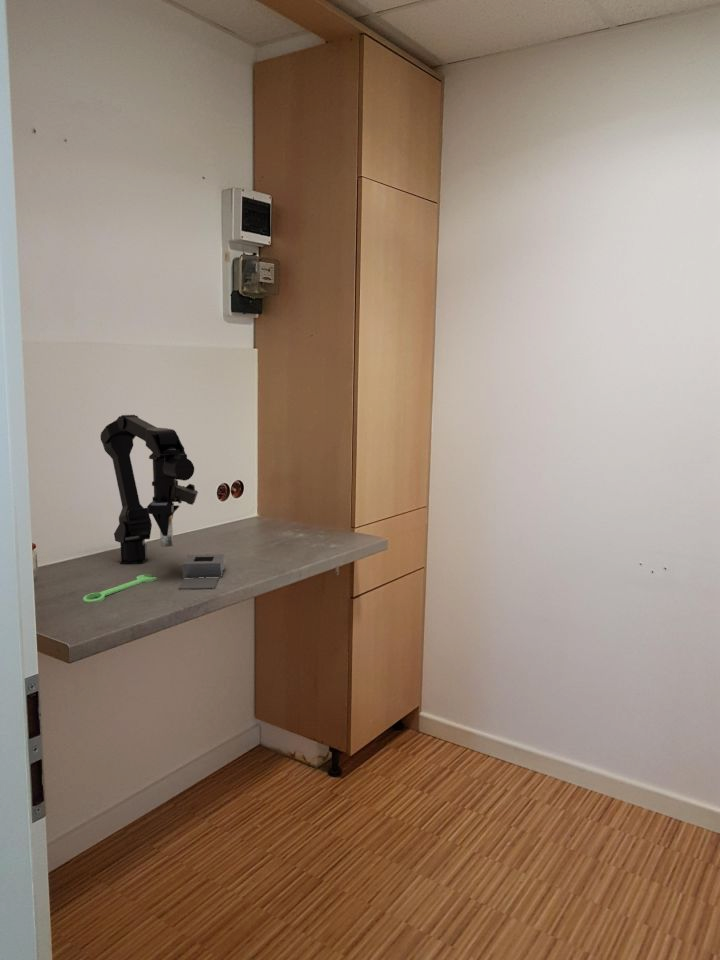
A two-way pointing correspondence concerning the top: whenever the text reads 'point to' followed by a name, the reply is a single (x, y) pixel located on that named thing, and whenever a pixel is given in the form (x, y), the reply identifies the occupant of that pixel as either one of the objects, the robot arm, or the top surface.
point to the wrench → (118, 588)
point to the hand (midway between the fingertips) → (166, 534)
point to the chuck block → (203, 566)
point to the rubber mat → (198, 583)
